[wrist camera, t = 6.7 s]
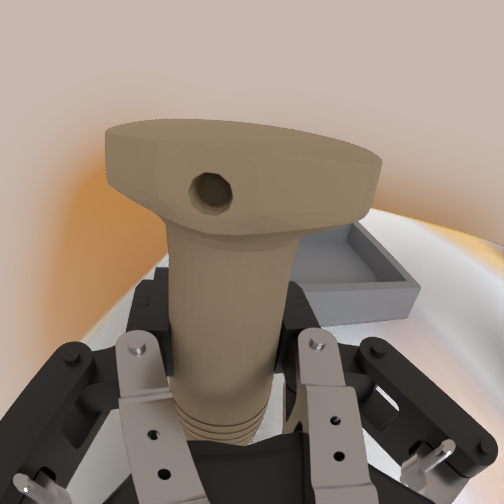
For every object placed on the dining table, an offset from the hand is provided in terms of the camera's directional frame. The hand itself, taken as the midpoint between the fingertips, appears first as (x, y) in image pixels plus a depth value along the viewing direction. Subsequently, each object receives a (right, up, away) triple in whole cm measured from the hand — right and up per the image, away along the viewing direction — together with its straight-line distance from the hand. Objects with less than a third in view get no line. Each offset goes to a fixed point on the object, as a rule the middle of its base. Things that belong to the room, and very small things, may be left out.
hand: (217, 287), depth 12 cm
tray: (+7, -1, +17) cm, 19 cm away
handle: (-1, -9, +2) cm, 9 cm away
